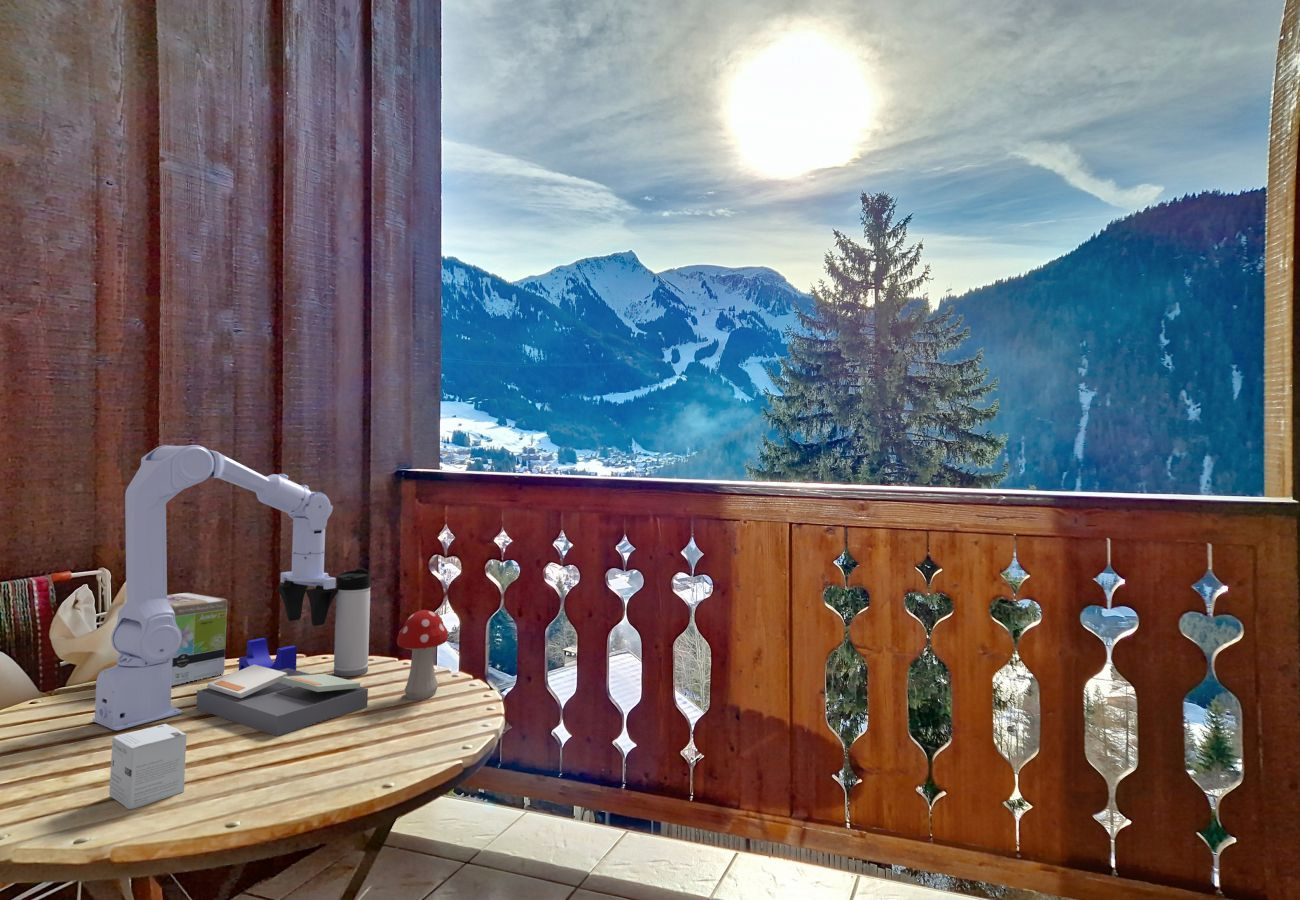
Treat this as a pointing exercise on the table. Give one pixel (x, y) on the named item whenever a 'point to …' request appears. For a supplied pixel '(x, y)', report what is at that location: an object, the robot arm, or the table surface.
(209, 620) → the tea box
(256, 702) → the switch block
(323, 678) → the plate
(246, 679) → the cream rocker
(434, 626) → the decorative mushroom
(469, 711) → the table surface
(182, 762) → the skincare box
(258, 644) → the blue curved bracket
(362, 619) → the travel mug
